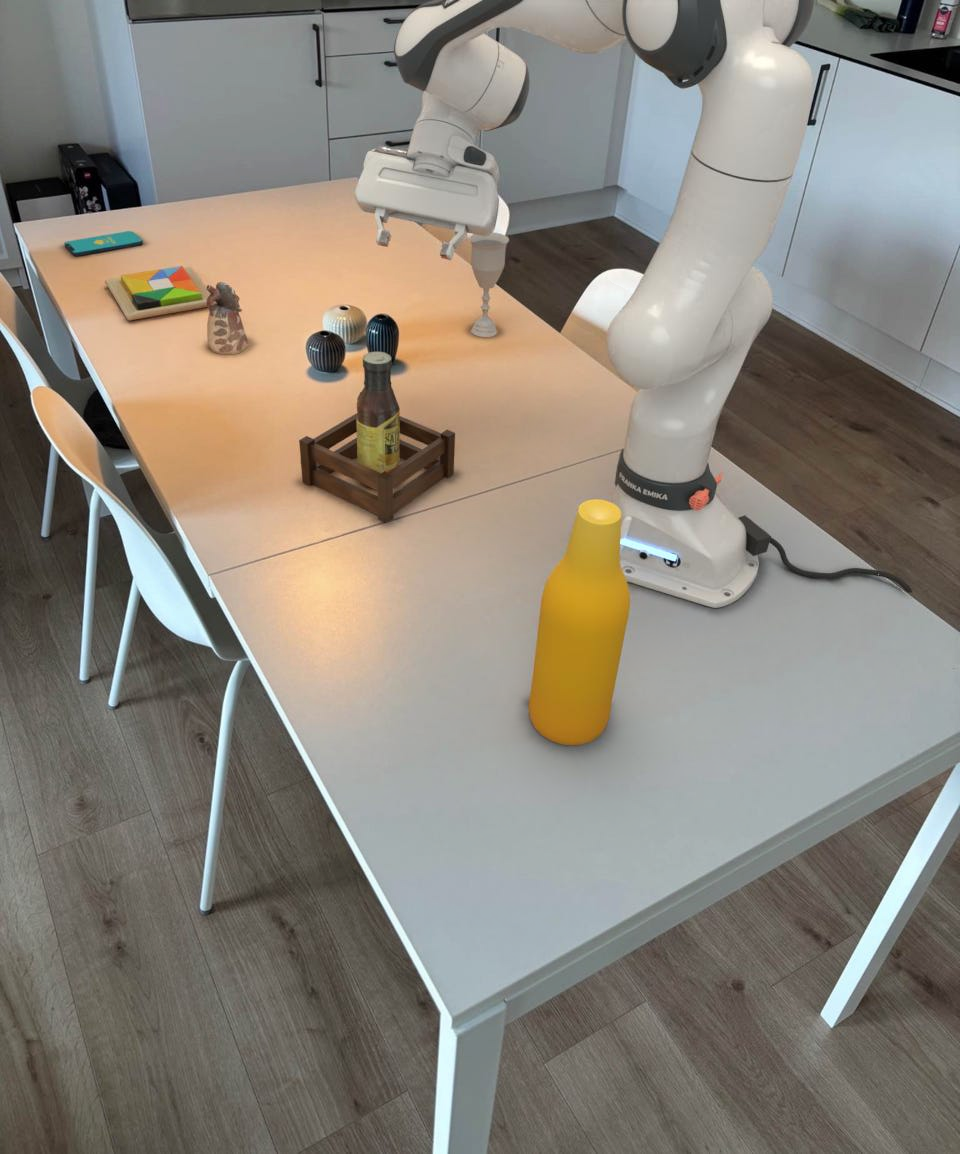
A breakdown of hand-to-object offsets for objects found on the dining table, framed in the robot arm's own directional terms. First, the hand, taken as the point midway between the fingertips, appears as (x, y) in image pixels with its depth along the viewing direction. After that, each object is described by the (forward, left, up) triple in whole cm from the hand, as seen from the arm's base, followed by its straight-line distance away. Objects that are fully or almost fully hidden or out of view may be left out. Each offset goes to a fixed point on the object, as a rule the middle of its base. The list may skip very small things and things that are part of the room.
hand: (413, 251), depth 136 cm
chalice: (+14, -41, -31) cm, 53 cm away
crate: (-3, +11, -31) cm, 33 cm away
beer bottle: (-51, +35, -31) cm, 69 cm away
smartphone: (+101, -21, -31) cm, 108 cm away
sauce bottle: (-3, +11, -31) cm, 33 cm away
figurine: (+46, -5, -31) cm, 56 cm away
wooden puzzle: (+71, -11, -31) cm, 79 cm away
